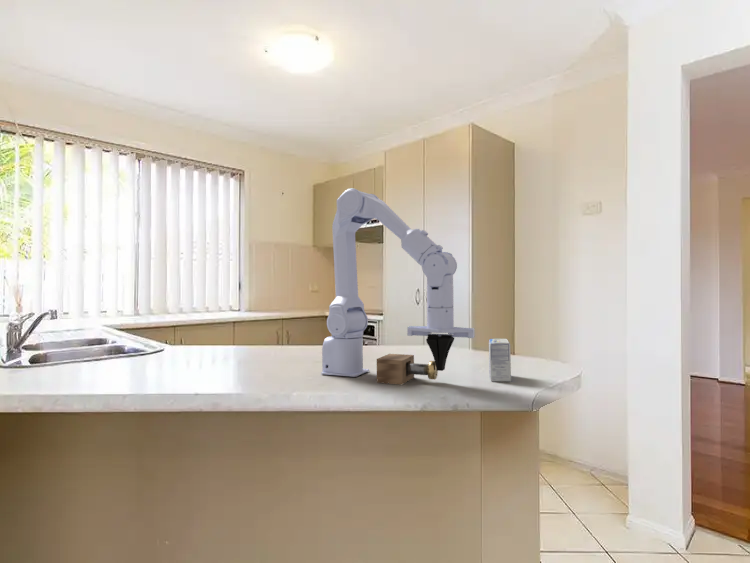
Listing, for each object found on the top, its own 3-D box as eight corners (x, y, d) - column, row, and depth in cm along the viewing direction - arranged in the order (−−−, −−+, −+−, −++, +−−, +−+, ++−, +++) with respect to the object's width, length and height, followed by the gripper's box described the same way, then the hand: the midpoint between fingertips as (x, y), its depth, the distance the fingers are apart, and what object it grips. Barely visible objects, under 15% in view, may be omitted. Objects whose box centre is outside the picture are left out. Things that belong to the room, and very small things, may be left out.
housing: (376, 382, 104) (376, 359, 104) (389, 375, 112) (389, 353, 112) (402, 384, 102) (402, 360, 102) (414, 377, 109) (413, 355, 109)
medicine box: (511, 382, 103) (510, 343, 103) (490, 381, 104) (489, 342, 104) (508, 375, 111) (508, 338, 111) (488, 374, 112) (488, 338, 112)
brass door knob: (392, 378, 105) (392, 360, 105) (399, 374, 109) (398, 357, 109) (432, 381, 101) (432, 362, 101) (437, 377, 105) (437, 359, 105)
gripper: (402, 307, 102) (403, 370, 102) (469, 309, 96) (470, 375, 96) (412, 306, 108) (413, 365, 108) (476, 307, 103) (476, 369, 103)
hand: (440, 369), depth 103 cm, fingers closed
